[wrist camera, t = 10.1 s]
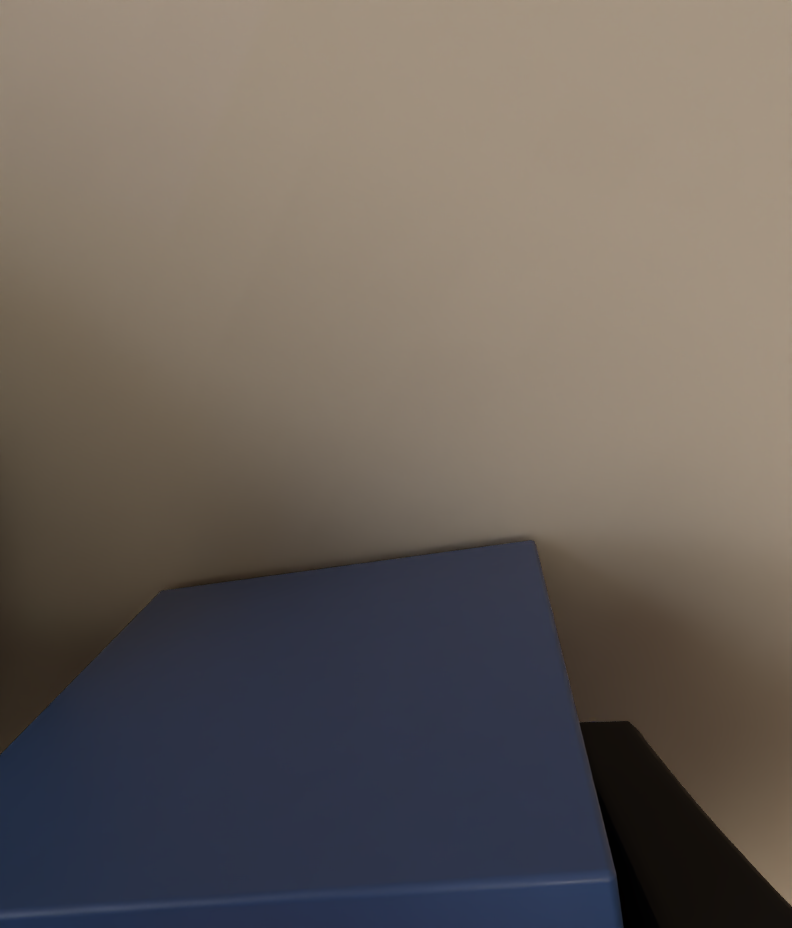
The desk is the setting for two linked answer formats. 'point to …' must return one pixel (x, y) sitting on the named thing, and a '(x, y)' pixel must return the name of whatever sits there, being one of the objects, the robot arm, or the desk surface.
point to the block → (316, 761)
